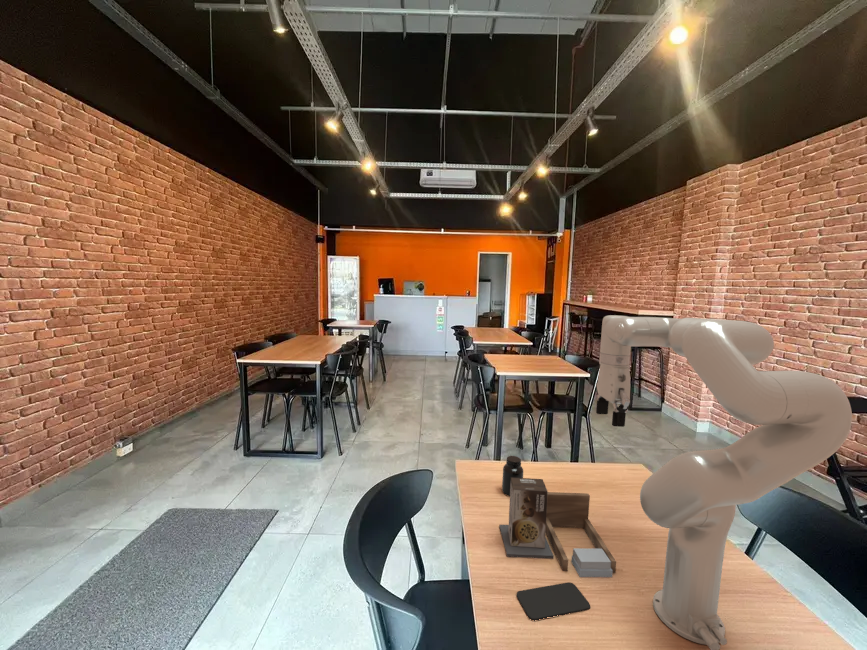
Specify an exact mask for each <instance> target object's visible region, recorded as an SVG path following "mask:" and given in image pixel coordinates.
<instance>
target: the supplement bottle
mask: <svg viewBox="0 0 867 650" xmlns="http://www.w3.org/2000/svg"><path fill="white" fill-rule="evenodd" d="M511 478H524V468H523V466H522V459H521V458H520V457H518V456H516V455H508V456H507V457H506V462H505V464H504V465H503V467H502V479H501V480H502V483H501V491H502V493H503V494H504V495H505V494H506V495H505V496H507V495H508V497H510V483H511Z"/></svg>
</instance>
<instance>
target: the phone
mask: <svg viewBox="0 0 867 650" xmlns="http://www.w3.org/2000/svg"><path fill="white" fill-rule="evenodd" d="M515 595H516V599H517V600H518V603H519V605H520V606H521V608H522V610H523V612H524V613H525V615H526V617H527V616H528V617H527V618H528V619H529V620H530V619H531V620H530V621H532V620H534V621H533V622H536V621H535V620H538V621H540V620H539V619H543V618H547V617H553V616H557V615H558V616H557V617H560V616H559V615H562V616H566V615H570V614H576V613H580V612H585V611H588V610H590V609H591V603H590V602H589V601H588V600H587V599H586V597H585V596H584V595H583V593H582V592H581V590H580V589H579V588H578V587H577V586H576V584H574V583H573V582H570V581H569V582H562V583H558V584H557V583H556V584H552V585H551V584H550V585H544V586H540V587H535V588H534V587H533V588H527V589H523V590H522V589H521V590H518V591H517V592H516V594H515ZM569 613H570V614H569ZM565 614H566V615H565ZM553 618H554V617H553ZM543 620H544V619H543Z"/></svg>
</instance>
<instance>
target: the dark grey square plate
mask: <svg viewBox="0 0 867 650" xmlns="http://www.w3.org/2000/svg"><path fill="white" fill-rule="evenodd" d="M498 527H499V532H500V535H501V539H502V543H503V545H504V546H503V548H504V550H505V553H506V554H505V555H506V558H521V559H526V558H527V559H550V560H551V559H553V560H554V556H555V555H554V553H553V551H552V549H551V547H550V545H549V542H548V540H547V536H545V548H536V547H522V546H511V543H510V538H509V532H508V527H509V524H499V526H498Z"/></svg>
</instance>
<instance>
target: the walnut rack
mask: <svg viewBox="0 0 867 650" xmlns="http://www.w3.org/2000/svg"><path fill="white" fill-rule="evenodd" d="M590 497H591V496H590V494H589V493H583V492H578V493H577V492H556V491H555V492H554V491H553V492H552V491H548V495H547V514H546V538H548V541H549V543H550V545H551V547H552V550H553V552H554V554H555V555H554V556H556V559H557V561H558V564H559V566H560V568H561V570H562V572H563V571H565V572H567V571H568V570H569V558H568V555H567V554H566V552H565V550H564V548H563V545H562V544H561V542H560V539H559V538H558V535H557V533H556V531H555V530H554V528H575V529H576V528H577V529H583V530H584V531H585V534H587V536H588V538H589V540H590V541H591V543H592V544H593V546H594V549H602V550H603V551H604V552H605V554H606V555H607V557H608V558H609V560H610V561H611V569H612V570H613V573H612V574H615V573H616V569H617V560H616V559H615V557H614V555H613V554H612V553H611V551H610V550H609V548H608V546H607V545H606V544H605V542H604V540H603V539H602V538H601V536H600V534H599V533H598V532H597V530H596V528H595V527H594V525H593V524H592V522H591V521H590V519H589V513H590V501H591V500H590V499H591V498H590Z"/></svg>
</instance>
